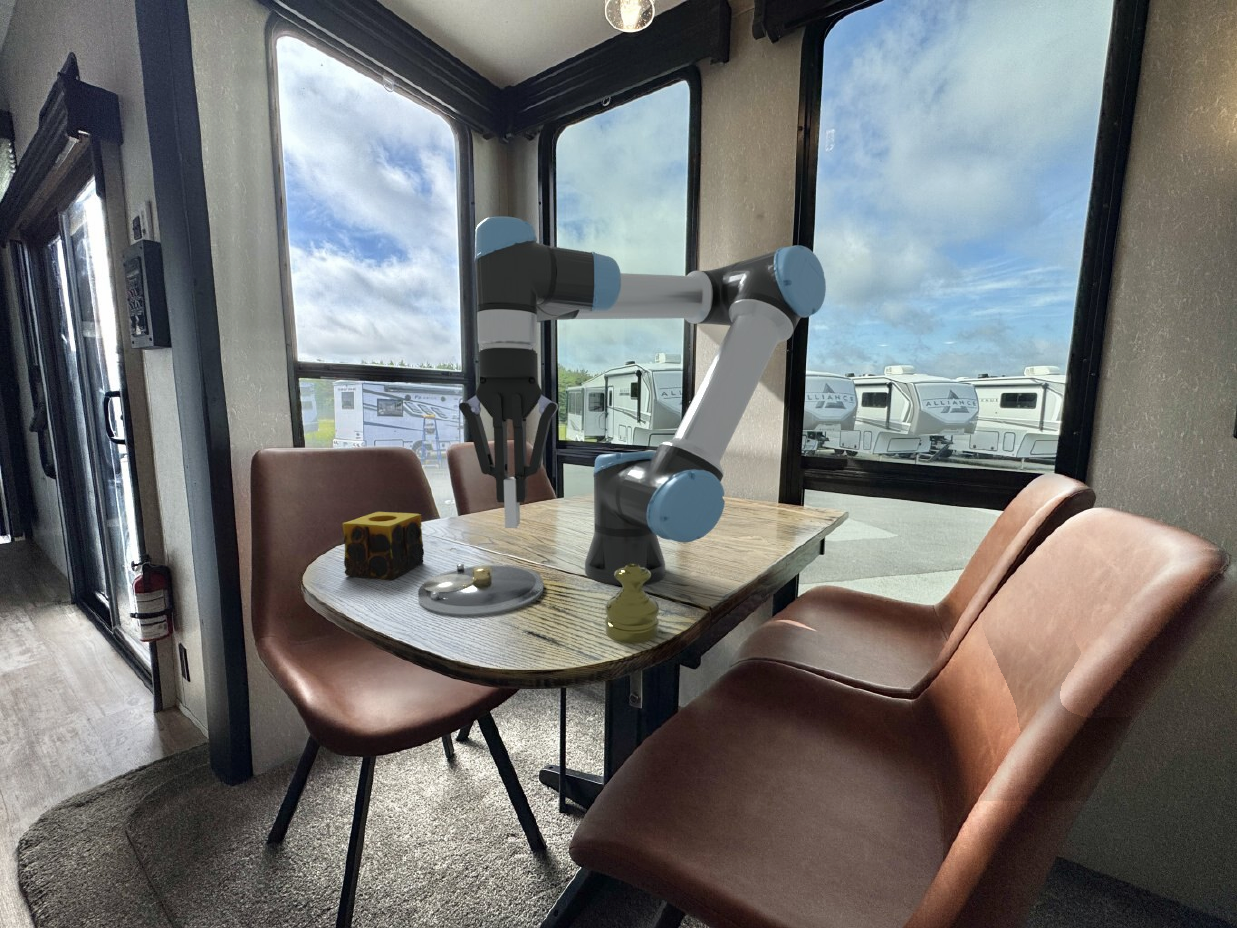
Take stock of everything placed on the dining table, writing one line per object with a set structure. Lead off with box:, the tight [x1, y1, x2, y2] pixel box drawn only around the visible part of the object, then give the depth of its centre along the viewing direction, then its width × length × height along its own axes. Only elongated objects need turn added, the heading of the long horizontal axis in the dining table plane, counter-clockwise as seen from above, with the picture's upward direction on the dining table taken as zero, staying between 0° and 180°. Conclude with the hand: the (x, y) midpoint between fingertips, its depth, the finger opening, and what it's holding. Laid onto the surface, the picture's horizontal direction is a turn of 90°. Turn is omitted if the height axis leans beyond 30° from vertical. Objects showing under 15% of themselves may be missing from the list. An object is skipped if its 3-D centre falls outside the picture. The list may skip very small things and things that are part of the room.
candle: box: [342, 511, 425, 581], centre depth 95 cm, size 10×10×10 cm
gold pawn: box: [604, 563, 660, 644], centre depth 69 cm, size 7×7×10 cm
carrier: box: [417, 563, 544, 617], centre depth 84 cm, size 20×20×4 cm
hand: (512, 525), depth 69 cm, fingers closed
